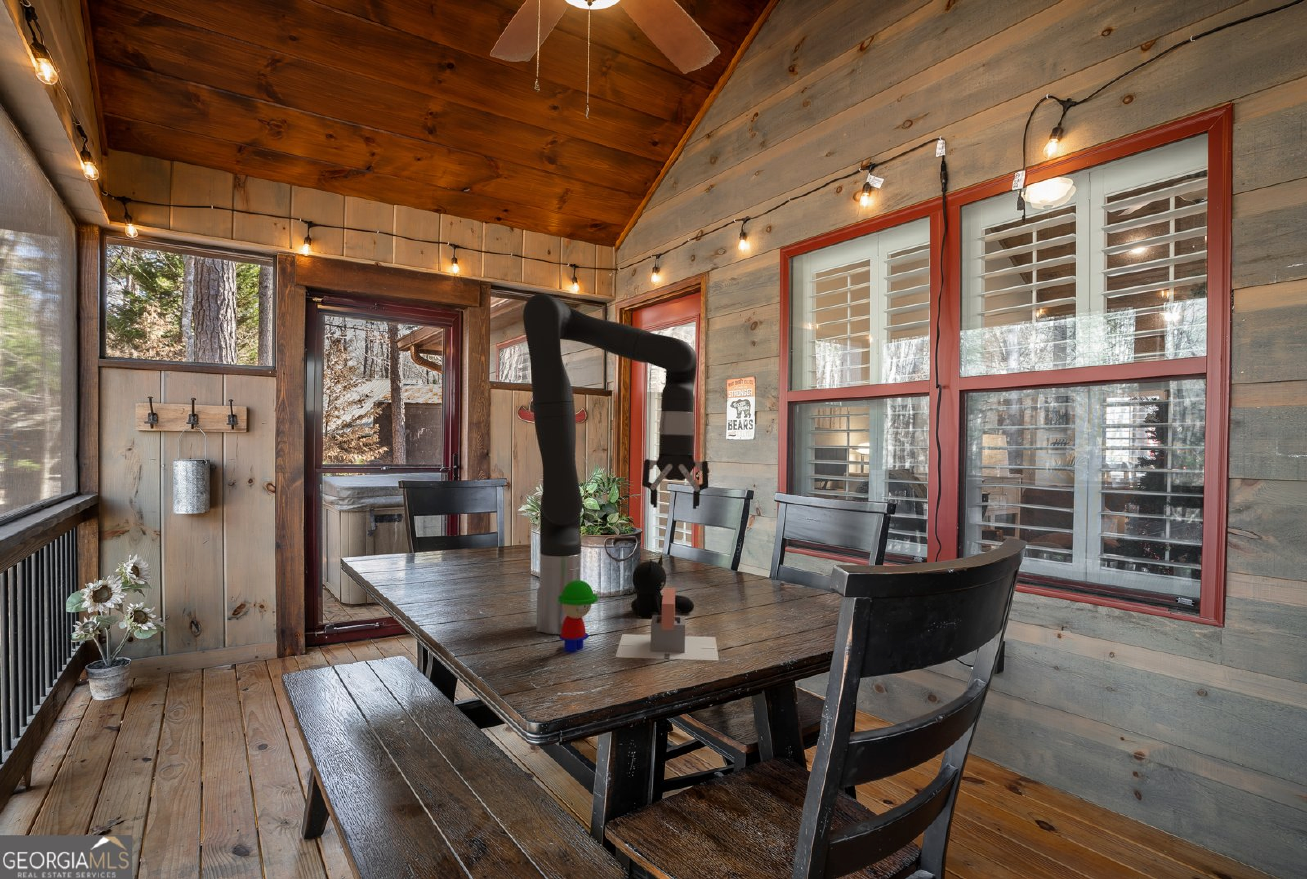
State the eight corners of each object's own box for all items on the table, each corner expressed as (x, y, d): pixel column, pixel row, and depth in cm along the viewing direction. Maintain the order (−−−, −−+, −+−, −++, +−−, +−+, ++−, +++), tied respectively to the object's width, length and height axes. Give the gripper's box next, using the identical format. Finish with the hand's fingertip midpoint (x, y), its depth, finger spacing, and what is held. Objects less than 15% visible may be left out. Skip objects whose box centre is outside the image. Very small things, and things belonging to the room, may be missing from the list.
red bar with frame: (652, 636, 141) (653, 587, 141) (684, 637, 141) (685, 588, 141) (649, 657, 127) (650, 603, 127) (684, 658, 127) (685, 604, 127)
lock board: (615, 663, 127) (615, 631, 127) (622, 639, 142) (622, 611, 142) (718, 666, 126) (719, 634, 126) (715, 642, 141) (715, 613, 141)
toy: (580, 665, 126) (581, 586, 126) (548, 657, 130) (550, 581, 130) (604, 654, 132) (605, 579, 132) (574, 647, 137) (575, 575, 137)
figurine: (667, 625, 154) (668, 561, 154) (619, 616, 162) (620, 555, 162) (700, 611, 167) (701, 552, 167) (655, 603, 175) (656, 547, 175)
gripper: (709, 434, 146) (707, 507, 146) (645, 432, 147) (643, 505, 147) (710, 433, 138) (707, 511, 138) (642, 432, 139) (640, 508, 139)
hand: (674, 508), depth 143 cm, fingers open, 8 cm apart
